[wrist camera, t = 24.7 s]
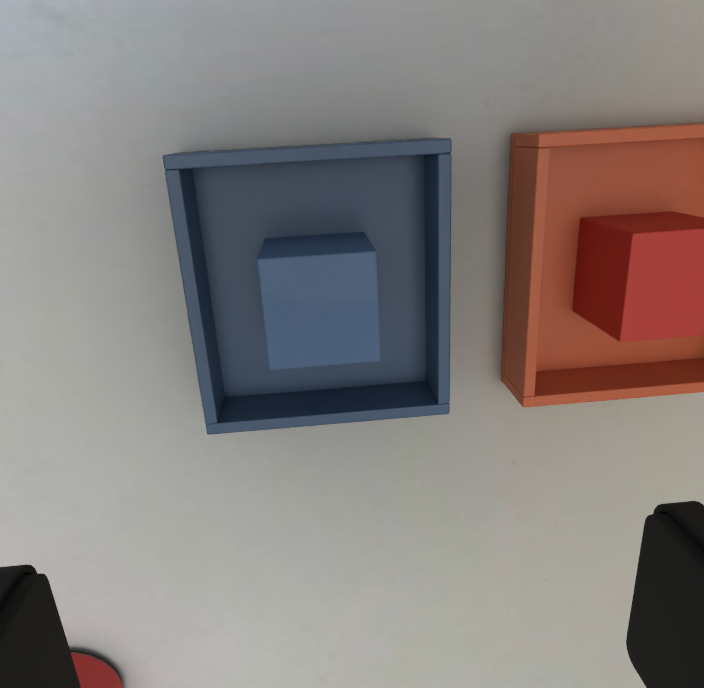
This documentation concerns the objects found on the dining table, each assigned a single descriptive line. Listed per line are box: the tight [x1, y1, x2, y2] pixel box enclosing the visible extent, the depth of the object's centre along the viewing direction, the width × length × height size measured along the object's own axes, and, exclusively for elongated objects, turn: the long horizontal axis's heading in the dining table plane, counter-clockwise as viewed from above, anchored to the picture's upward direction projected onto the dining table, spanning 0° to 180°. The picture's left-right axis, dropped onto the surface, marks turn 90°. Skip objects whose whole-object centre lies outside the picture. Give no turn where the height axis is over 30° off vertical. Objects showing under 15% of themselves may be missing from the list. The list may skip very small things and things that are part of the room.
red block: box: [572, 211, 704, 342], centre depth 28 cm, size 5×5×5 cm
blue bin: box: [163, 138, 452, 434], centre depth 28 cm, size 13×12×4 cm
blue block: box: [257, 232, 381, 370], centre depth 27 cm, size 5×5×5 cm
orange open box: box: [501, 122, 704, 407], centre depth 29 cm, size 13×12×4 cm
